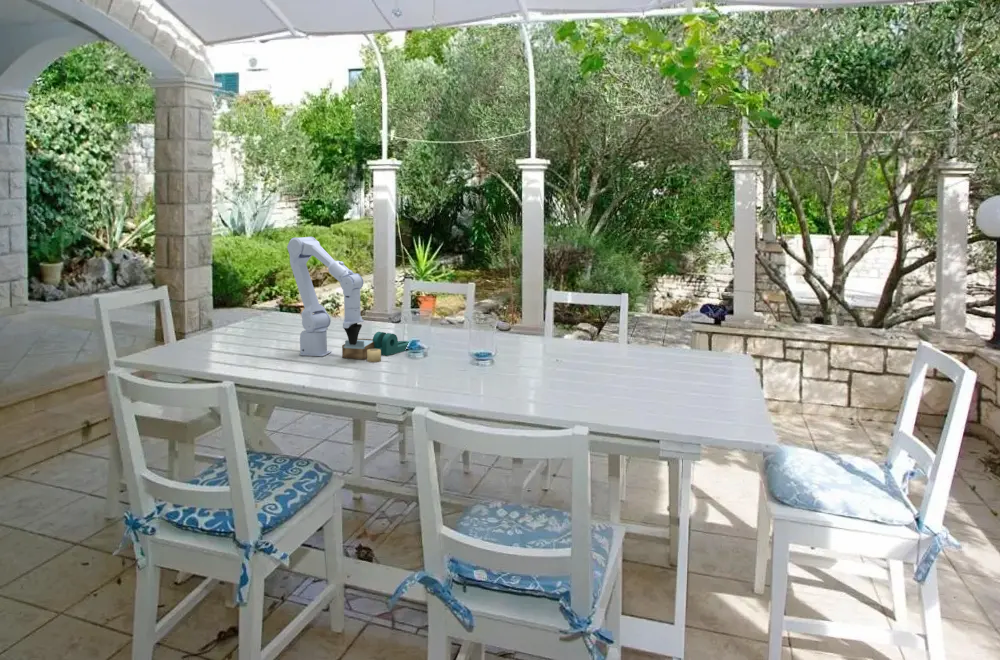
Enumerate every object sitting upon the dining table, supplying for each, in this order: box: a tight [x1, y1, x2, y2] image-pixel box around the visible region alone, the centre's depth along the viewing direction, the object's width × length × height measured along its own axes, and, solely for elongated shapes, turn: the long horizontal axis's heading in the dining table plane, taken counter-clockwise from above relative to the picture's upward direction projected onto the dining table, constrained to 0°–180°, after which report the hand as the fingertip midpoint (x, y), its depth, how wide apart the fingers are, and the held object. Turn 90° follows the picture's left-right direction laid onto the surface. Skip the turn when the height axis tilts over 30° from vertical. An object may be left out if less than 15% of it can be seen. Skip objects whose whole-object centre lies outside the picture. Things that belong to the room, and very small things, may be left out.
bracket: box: [372, 331, 410, 356], centre depth 287 cm, size 18×7×8 cm, turn 150°
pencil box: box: [341, 337, 374, 360], centre depth 279 cm, size 9×14×5 cm, turn 171°
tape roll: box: [366, 349, 382, 363], centre depth 270 cm, size 5×5×4 cm
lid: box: [344, 339, 373, 349], centre depth 278 cm, size 8×13×3 cm, turn 171°
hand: (352, 344), depth 271 cm, fingers closed
